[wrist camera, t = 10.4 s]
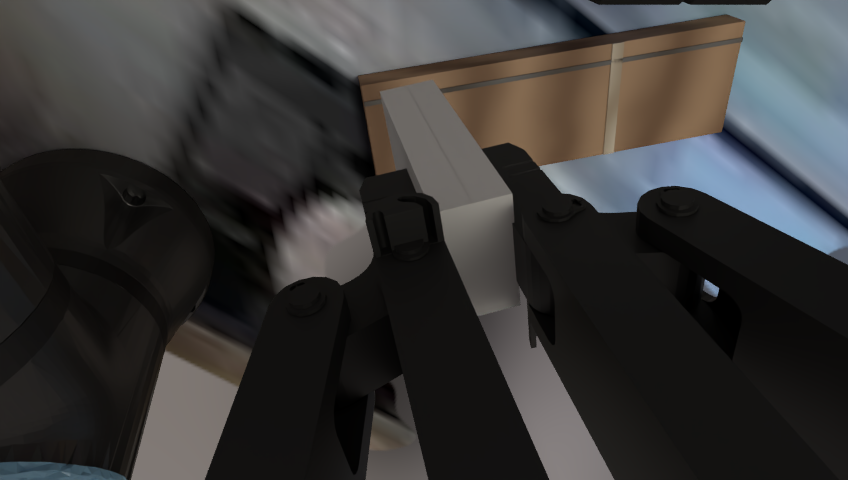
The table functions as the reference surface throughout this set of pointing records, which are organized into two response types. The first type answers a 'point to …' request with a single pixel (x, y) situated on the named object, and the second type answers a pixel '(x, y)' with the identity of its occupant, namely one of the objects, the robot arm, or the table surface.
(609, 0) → the puzzle cube
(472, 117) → the brown wooden plank
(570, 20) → the table surface
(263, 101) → the table surface
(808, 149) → the table surface
